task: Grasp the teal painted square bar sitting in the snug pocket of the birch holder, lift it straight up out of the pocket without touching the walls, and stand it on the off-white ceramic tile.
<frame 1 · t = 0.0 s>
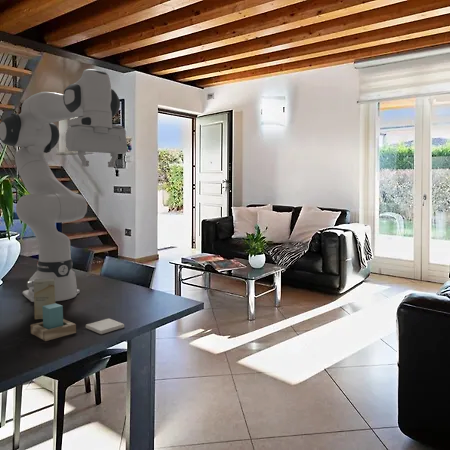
hand: (98, 166, 138), 48 cm above the table, fingers open, 8 cm apart
skincare box: (45, 317, 139), on the table
teal bar: (53, 333, 125), resting in pocket holder
pocket holder: (53, 332, 125), on the table
ceramic tile: (105, 327, 129), on the table
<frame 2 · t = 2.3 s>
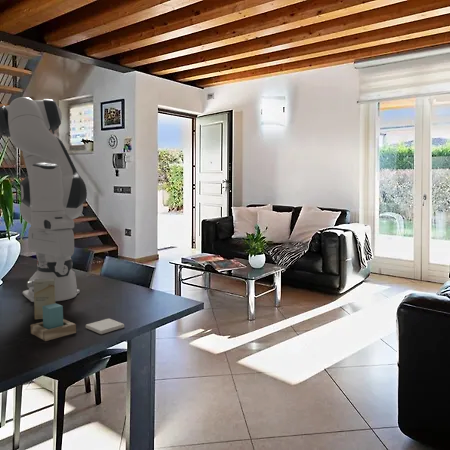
hand: (51, 269, 122), 18 cm above the table, fingers open, 8 cm apart
nothing on the table moved.
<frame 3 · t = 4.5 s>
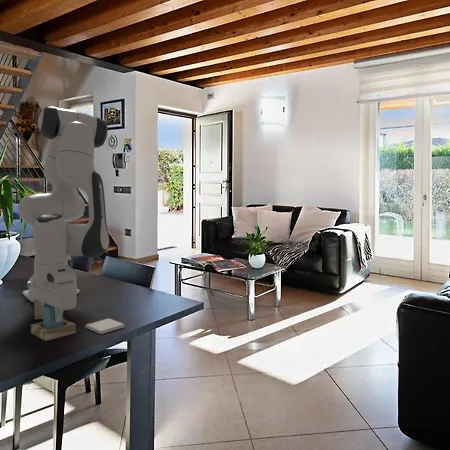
hand: (53, 319, 124), 4 cm above the table, fingers closed on teal bar, 4 cm apart
teal bar: (53, 333, 125), resting in pocket holder, touching gripper
everything else where it was.
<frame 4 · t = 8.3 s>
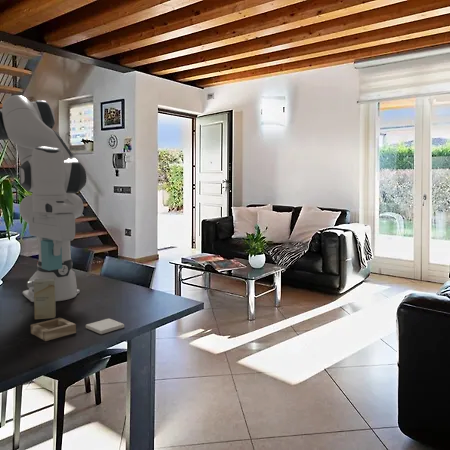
hand: (51, 254, 122), 23 cm above the table, fingers closed on teal bar, 4 cm apart
teal bar: (52, 268, 123), point 19 cm above the table, touching gripper
everything else where it was.
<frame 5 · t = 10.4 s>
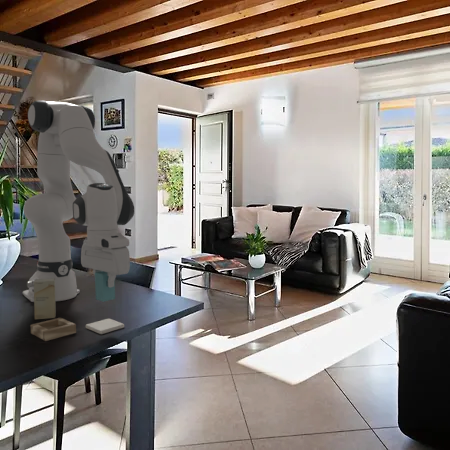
hand: (104, 285, 128), 13 cm above the table, fingers closed on teal bar, 4 cm apart
teal bar: (105, 299, 128), point 9 cm above the table, touching gripper
everything else where it was.
when the fingers open (7 cm above the table, at t = 12.1 s): teal bar drops 1 cm, resting on ceramic tile.
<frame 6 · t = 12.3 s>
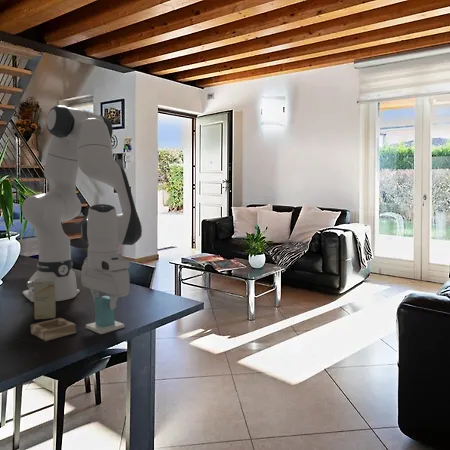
hand: (104, 306, 129), 7 cm above the table, fingers open, 6 cm apart
teal bar: (105, 324, 129), point 1 cm above the table, touching ceramic tile
everything else where it was.
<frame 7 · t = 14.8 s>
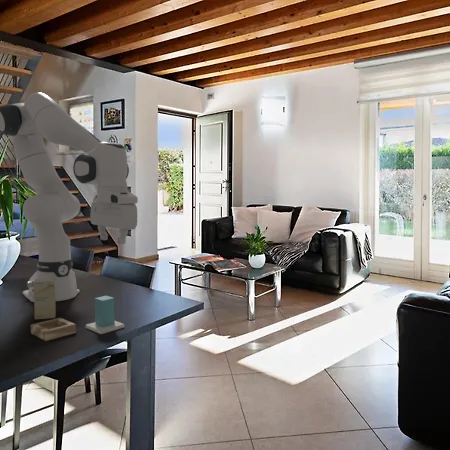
hand: (112, 241, 132), 25 cm above the table, fingers open, 8 cm apart
nothing on the table moved.
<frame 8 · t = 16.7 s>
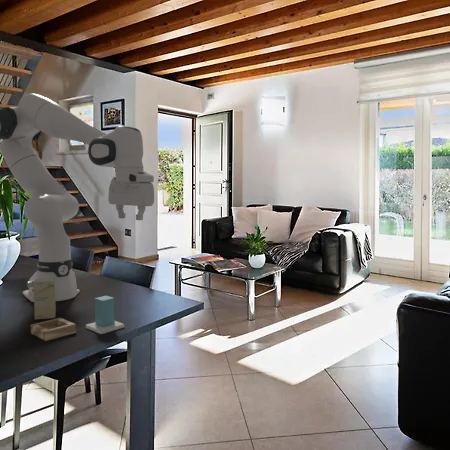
hand: (130, 219, 142), 31 cm above the table, fingers open, 8 cm apart
nothing on the table moved.
at the end: teal bar 0.1 cm off-centre on the ceramic tile, point 1.0 cm above the ceramic tile's base; teal bar tilted 0°; the gripper is holding nothing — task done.
